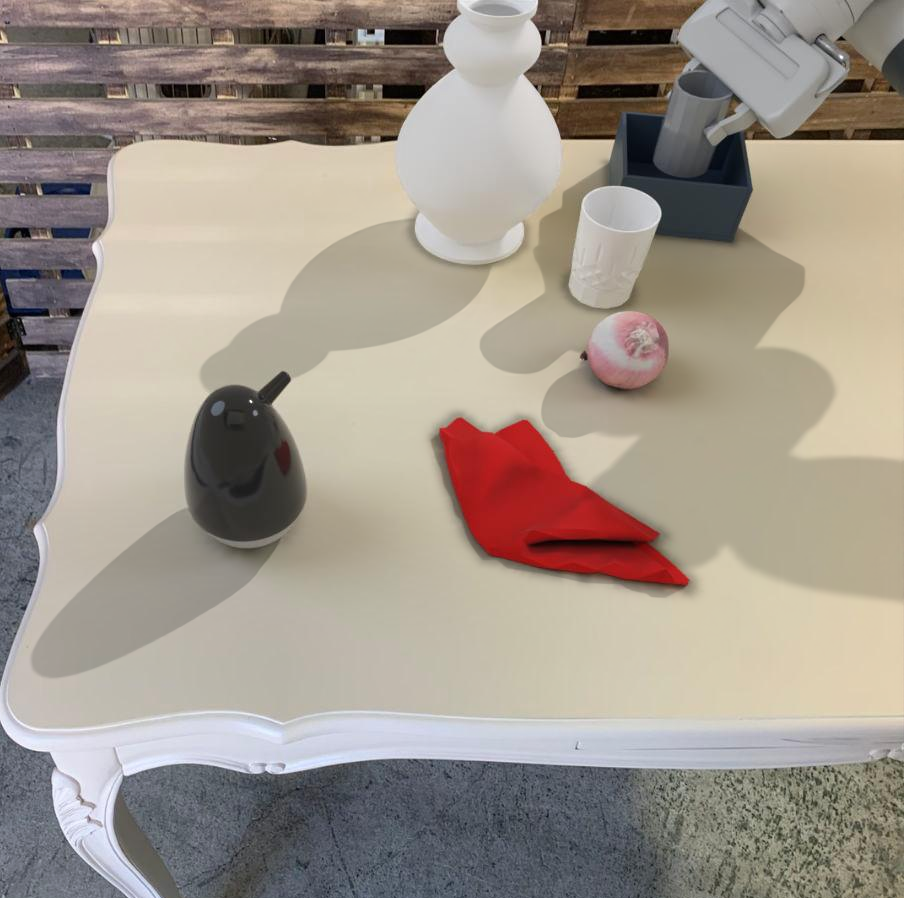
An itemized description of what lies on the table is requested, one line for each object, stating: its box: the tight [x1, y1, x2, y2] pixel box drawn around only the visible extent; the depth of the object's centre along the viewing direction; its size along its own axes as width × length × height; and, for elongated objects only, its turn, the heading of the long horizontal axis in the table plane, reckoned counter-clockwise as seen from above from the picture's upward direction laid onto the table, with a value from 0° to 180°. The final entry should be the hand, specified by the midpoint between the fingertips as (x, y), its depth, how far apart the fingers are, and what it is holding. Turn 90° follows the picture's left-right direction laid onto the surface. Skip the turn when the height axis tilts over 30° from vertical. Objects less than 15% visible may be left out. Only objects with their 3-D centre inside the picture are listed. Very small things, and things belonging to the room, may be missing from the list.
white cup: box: [567, 185, 661, 310], centre depth 94 cm, size 8×8×10 cm
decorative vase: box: [394, 0, 563, 265], centre depth 94 cm, size 18×18×25 cm
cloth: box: [438, 417, 690, 586], centre depth 79 cm, size 26×14×2 cm, turn 36°
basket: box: [608, 110, 754, 244], centre depth 105 cm, size 14×14×7 cm
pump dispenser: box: [183, 370, 308, 549], centre depth 73 cm, size 10×10×15 cm
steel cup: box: [653, 70, 734, 178], centre depth 100 cm, size 6×6×9 cm
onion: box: [579, 310, 670, 391], centre depth 87 cm, size 8×8×7 cm
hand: (688, 121), depth 100 cm, fingers closed on steel cup, 6 cm apart
